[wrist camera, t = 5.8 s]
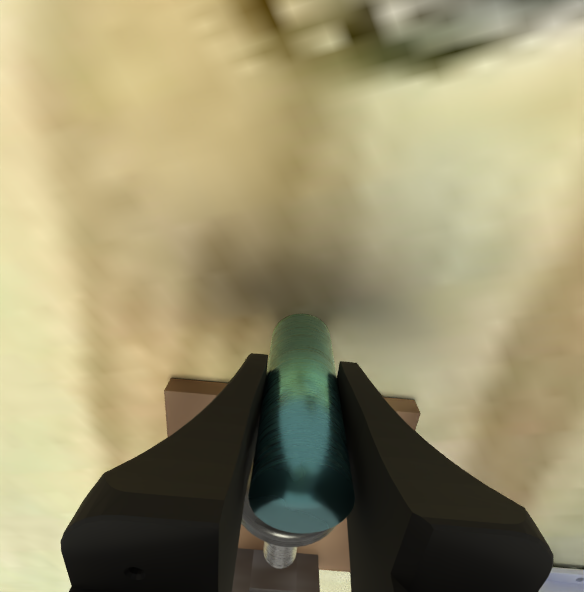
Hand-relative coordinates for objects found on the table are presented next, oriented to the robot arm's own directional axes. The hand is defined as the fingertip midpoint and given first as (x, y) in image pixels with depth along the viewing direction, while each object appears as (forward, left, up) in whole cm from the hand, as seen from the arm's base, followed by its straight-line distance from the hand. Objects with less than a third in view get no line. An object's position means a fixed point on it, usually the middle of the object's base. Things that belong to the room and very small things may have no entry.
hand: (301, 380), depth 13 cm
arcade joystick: (0, +4, -3) cm, 5 cm away
